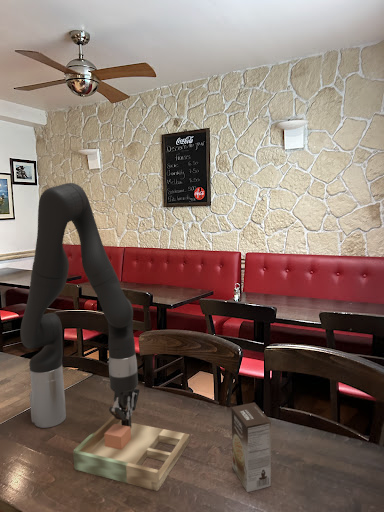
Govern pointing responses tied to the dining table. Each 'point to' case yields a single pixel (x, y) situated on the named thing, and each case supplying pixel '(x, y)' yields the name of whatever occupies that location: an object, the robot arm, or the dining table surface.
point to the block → (117, 436)
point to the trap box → (130, 455)
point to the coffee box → (251, 446)
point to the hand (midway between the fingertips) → (126, 429)
